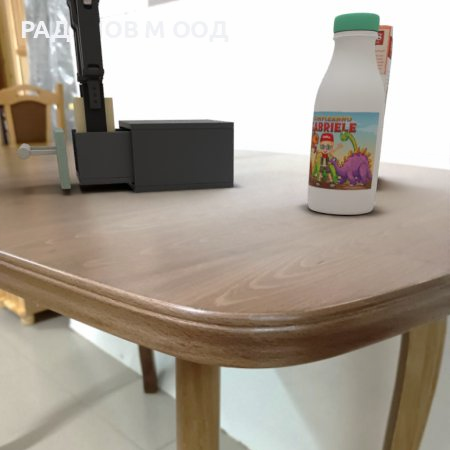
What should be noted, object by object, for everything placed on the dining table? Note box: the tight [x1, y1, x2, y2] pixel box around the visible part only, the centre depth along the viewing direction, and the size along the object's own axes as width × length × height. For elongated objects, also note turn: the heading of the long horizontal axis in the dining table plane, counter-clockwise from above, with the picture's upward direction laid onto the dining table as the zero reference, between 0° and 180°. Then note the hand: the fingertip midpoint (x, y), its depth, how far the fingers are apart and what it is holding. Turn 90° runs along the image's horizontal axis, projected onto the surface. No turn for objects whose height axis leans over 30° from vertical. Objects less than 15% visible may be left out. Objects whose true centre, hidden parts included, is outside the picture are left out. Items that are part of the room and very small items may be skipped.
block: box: [72, 96, 116, 132], centre depth 69 cm, size 5×5×5 cm
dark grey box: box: [118, 118, 235, 194], centre depth 74 cm, size 15×13×9 cm
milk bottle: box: [307, 12, 386, 216], centre depth 54 cm, size 8×8×20 cm
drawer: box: [17, 127, 134, 190], centre depth 70 cm, size 18×11×7 cm, turn 109°
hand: (95, 133), depth 69 cm, fingers closed on block, 5 cm apart
